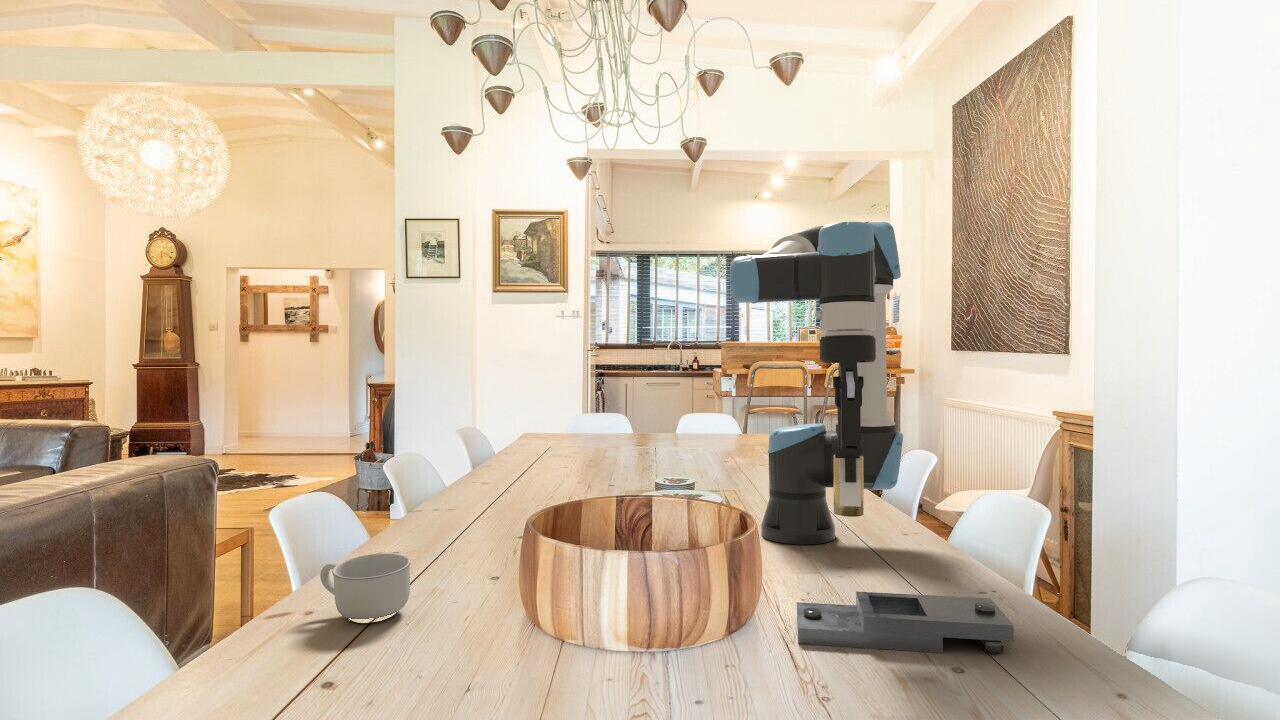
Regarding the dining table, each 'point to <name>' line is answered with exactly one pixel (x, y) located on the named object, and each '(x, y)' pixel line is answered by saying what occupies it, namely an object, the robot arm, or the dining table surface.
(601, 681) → the dining table surface
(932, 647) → the grey slotted bracket
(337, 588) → the teacup
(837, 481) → the brass pin
